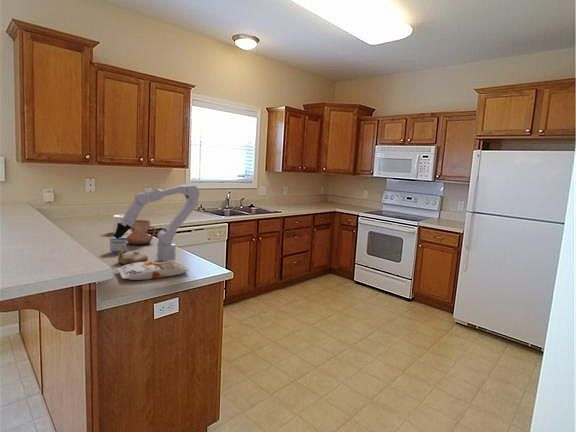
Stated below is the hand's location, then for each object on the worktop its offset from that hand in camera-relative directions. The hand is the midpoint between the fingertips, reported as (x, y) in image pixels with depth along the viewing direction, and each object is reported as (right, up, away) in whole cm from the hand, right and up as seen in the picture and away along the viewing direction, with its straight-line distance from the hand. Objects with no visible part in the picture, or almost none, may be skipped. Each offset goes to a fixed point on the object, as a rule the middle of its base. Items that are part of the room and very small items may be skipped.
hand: (117, 237), depth 177 cm
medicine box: (-10, -10, +22) cm, 26 cm away
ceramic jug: (-7, -7, +44) cm, 46 cm away
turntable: (+5, -12, +5) cm, 14 cm away
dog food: (+21, -17, -9) cm, 29 cm away
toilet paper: (-31, -1, +69) cm, 76 cm away
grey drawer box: (+3, -12, +14) cm, 19 cm away
